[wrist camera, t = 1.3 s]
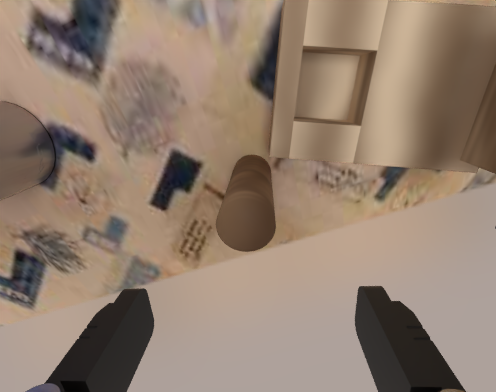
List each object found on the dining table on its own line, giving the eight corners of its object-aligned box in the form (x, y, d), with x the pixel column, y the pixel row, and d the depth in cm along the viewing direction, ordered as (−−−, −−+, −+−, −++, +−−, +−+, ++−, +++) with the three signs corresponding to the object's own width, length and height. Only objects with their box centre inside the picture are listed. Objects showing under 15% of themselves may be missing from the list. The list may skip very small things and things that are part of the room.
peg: (232, 188, 30) (215, 249, 19) (234, 153, 29) (216, 196, 18) (268, 191, 30) (272, 253, 19) (272, 156, 29) (278, 201, 18)
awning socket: (268, 151, 28) (273, 218, 14) (282, 2, 24) (312, -127, 9) (448, 164, 28) (642, 248, 14) (500, 16, 23) (889, -96, 9)
